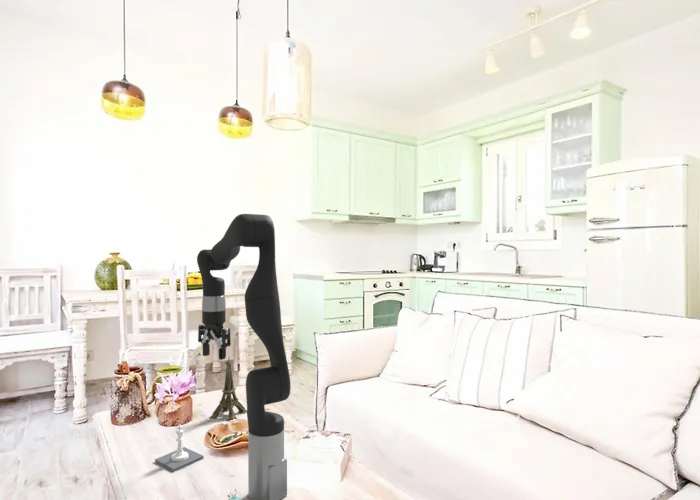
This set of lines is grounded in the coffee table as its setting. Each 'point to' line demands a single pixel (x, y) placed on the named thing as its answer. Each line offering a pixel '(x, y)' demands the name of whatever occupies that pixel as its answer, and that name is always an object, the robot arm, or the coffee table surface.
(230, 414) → the eiffel tower
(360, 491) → the coffee table surface
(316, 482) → the coffee table surface
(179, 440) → the chess piece
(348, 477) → the coffee table surface
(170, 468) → the slate tile
